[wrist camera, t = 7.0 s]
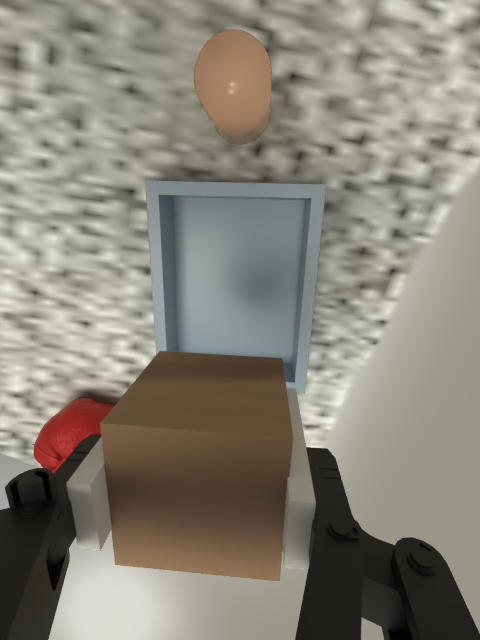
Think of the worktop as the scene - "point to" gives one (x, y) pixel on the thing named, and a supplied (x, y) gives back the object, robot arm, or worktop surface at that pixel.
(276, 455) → the walnut cube
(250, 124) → the terracotta cylinder
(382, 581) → the robot arm
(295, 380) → the tote
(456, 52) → the worktop surface
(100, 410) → the pomegranate
